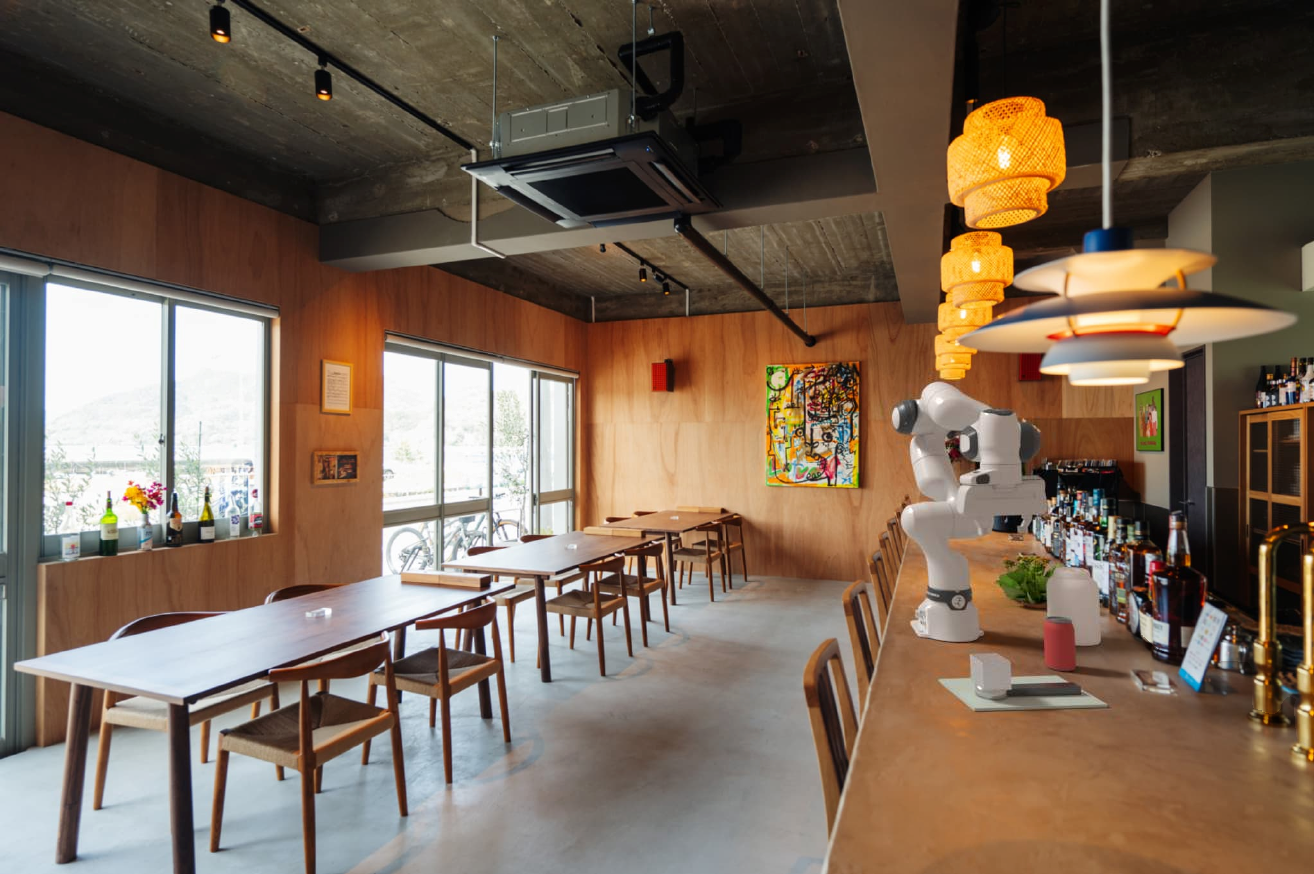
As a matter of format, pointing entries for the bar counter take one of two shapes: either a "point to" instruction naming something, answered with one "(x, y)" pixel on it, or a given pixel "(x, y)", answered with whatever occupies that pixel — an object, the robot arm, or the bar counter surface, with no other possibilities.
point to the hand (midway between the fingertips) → (1002, 534)
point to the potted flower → (1027, 580)
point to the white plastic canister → (1076, 602)
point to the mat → (967, 694)
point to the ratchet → (1030, 690)
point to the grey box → (990, 671)
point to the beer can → (1059, 644)
